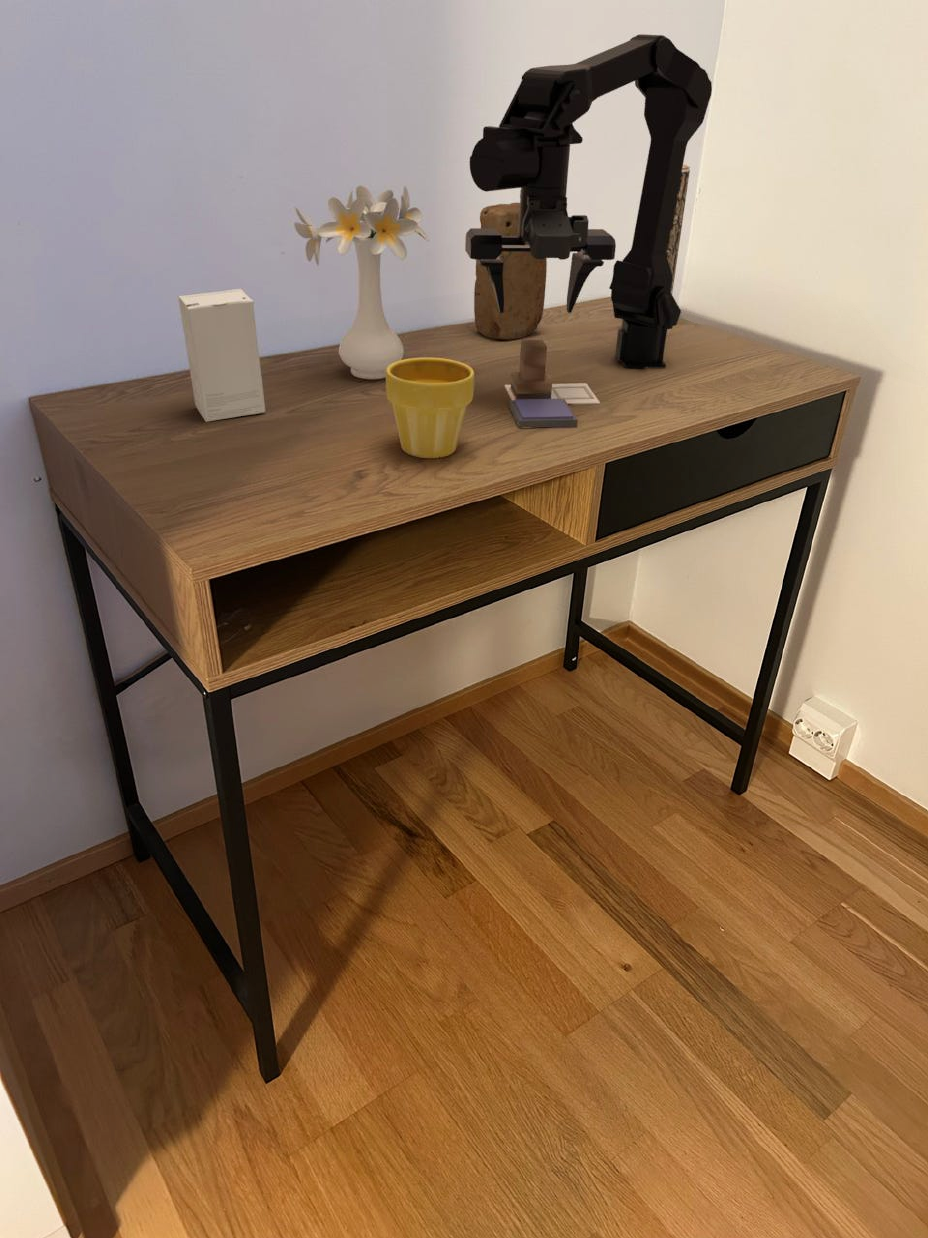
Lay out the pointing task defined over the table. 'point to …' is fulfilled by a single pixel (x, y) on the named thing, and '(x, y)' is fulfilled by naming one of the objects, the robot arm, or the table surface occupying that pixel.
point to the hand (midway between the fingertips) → (535, 312)
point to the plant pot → (429, 403)
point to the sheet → (568, 393)
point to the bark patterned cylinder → (677, 222)
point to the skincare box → (223, 353)
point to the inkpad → (542, 413)
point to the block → (509, 283)
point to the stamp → (532, 372)
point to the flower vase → (367, 270)
